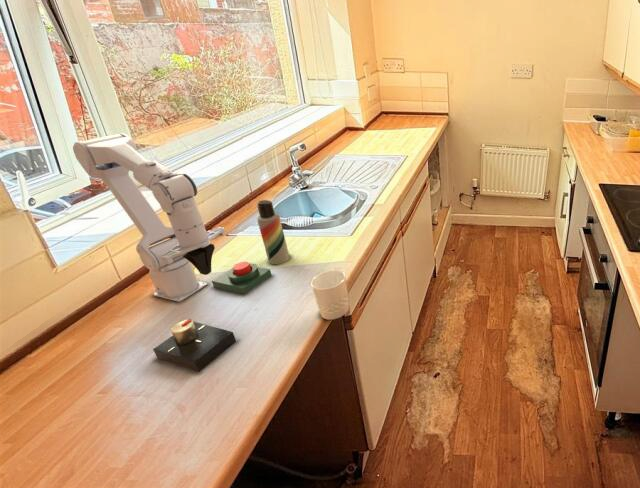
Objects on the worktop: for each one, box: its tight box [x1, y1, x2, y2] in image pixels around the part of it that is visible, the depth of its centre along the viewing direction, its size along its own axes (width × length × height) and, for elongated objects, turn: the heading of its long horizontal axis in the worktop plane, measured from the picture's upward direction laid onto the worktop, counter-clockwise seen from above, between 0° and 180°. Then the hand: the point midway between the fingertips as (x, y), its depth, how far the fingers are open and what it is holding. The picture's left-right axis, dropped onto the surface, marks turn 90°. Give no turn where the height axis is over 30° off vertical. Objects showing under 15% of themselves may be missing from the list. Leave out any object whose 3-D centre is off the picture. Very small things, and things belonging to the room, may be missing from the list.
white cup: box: [310, 269, 350, 321], centre depth 101 cm, size 8×8×10 cm
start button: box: [232, 261, 251, 275], centre depth 112 cm, size 4×4×2 cm
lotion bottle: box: [256, 199, 290, 265], centre depth 120 cm, size 6×6×20 cm
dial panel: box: [152, 321, 237, 373], centre depth 90 cm, size 12×9×3 cm
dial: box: [170, 318, 198, 345], centre depth 89 cm, size 4×4×4 cm
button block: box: [211, 262, 272, 295], centre depth 113 cm, size 11×9×4 cm
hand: (206, 272), depth 100 cm, fingers closed
